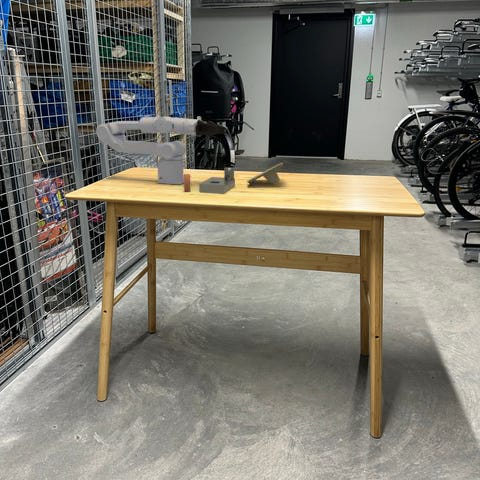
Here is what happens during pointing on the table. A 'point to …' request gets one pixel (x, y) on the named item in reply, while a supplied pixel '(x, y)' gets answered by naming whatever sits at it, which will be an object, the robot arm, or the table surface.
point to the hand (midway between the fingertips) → (221, 129)
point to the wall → (268, 174)
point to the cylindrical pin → (187, 183)
